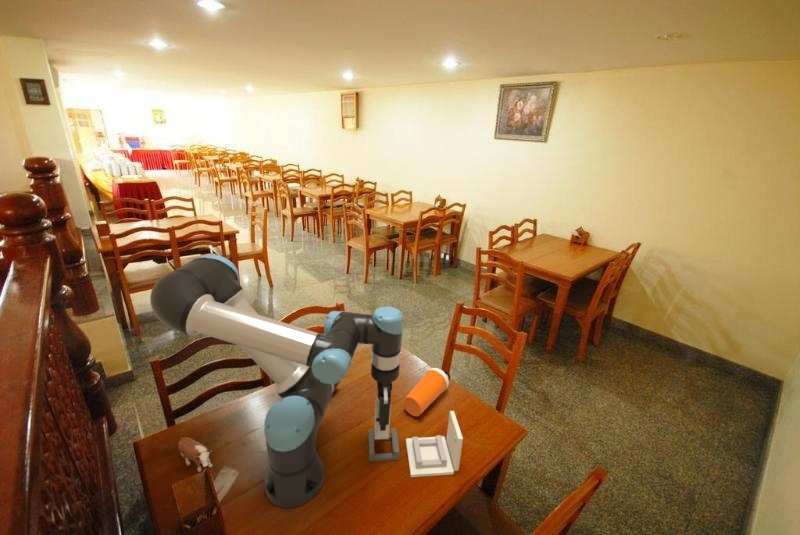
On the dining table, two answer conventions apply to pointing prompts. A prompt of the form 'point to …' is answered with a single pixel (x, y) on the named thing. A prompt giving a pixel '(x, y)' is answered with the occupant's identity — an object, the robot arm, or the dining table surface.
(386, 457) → the grey square frame
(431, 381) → the shaker bottle
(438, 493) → the dining table surface
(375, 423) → the plug
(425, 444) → the port
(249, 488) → the dining table surface
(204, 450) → the bull figurine
